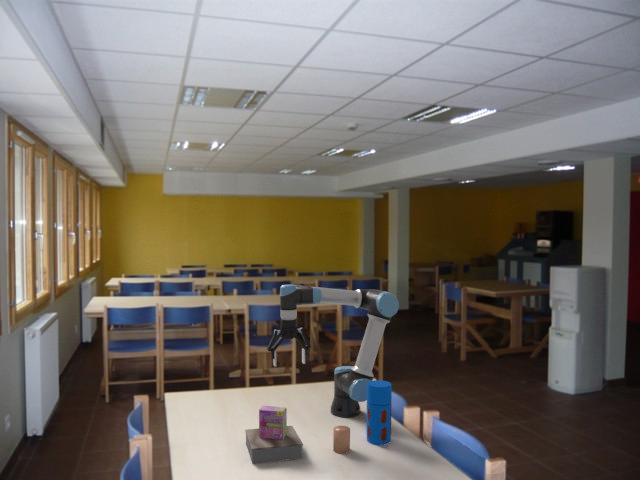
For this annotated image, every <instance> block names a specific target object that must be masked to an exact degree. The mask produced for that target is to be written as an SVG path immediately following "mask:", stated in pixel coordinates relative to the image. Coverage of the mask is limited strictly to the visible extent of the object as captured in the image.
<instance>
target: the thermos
mask: <svg viewBox="0 0 640 480" xmlns="http://www.w3.org/2000/svg"><path fill="white" fill-rule="evenodd" d="M392 388H393V387H392V383H391V382H390V381H386V380H380V379H378V380H377V379H375V380H374V379H373V380H372V381H369V382H368V383H367V400H366V432H365V433H366V441H367V442H368V443H370V444H372V445H374V446H375V445H376V446H384V444H386V445H388V444H387V443H389V442H390V443H391V440H392V439H391V437H392V399H393V397H392V394H393V393H392V391H393V390H392ZM390 443H389V444H390Z"/></svg>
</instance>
